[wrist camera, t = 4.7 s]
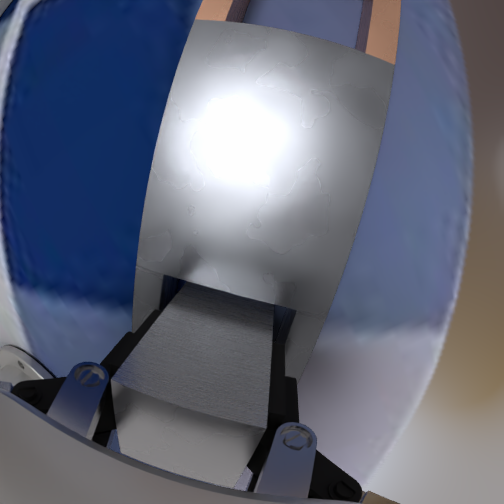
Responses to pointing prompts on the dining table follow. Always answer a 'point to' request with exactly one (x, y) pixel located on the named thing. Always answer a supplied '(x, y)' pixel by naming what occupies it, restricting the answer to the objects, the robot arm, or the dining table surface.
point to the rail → (265, 165)
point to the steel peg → (198, 386)
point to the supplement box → (4, 5)
